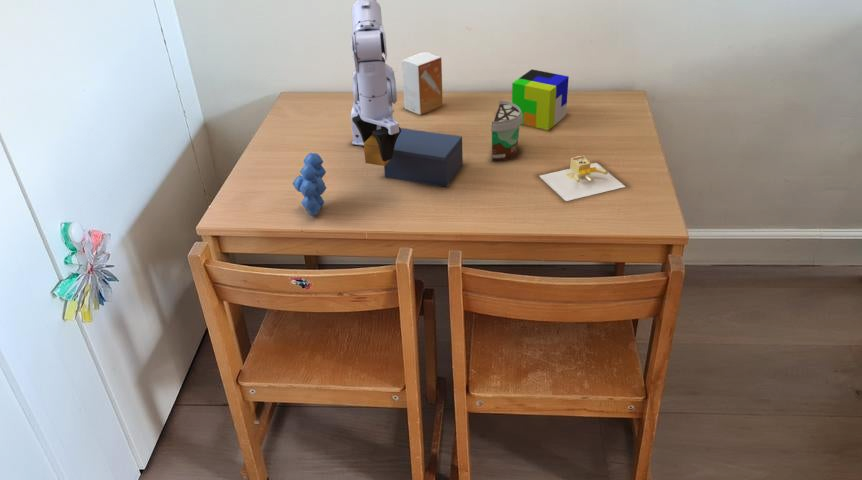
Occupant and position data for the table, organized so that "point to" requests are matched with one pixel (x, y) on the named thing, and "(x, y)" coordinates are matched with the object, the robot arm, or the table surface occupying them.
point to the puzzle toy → (541, 98)
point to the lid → (426, 144)
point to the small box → (422, 82)
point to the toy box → (425, 168)
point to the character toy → (581, 180)
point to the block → (373, 152)
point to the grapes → (311, 183)
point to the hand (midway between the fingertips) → (379, 153)
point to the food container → (505, 131)
